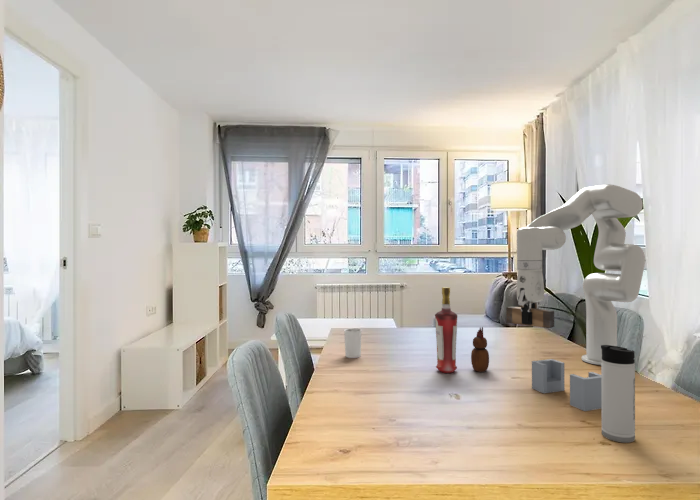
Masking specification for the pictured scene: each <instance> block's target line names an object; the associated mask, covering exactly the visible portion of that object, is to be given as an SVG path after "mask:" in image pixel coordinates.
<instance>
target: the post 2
mask: <svg viewBox="0 0 700 500" xmlns="http://www.w3.org/2000/svg"><path fill="white" fill-rule="evenodd" d="M587 375H588V376H587V377H582V376H580V375H577V374H574V373H573V374H572V373H571V374H570V373H569V406H572V407H574V408H576V409H578V410H581V411H584V412H587V411H596V410H602V384H601V374H600V373H597V372H594V371H588V374H587Z"/></svg>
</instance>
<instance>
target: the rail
mask: <svg viewBox="0 0 700 500" xmlns="http://www.w3.org/2000/svg"><path fill="white" fill-rule="evenodd" d="M531 312H532V325H528V326H532V327H538V328H545V329H551V328H555V310H552V309H551V310H550V309H543V308H541V309H540V308H539V309H533V308H531ZM505 313H506V315H505V316H506V318H505V319H506V323H507V324H515V325H522V326H527V325H526V324H522V312H521V307H520V306H507V307H506V312H505Z"/></svg>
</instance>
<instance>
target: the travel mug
mask: <svg viewBox="0 0 700 500" xmlns="http://www.w3.org/2000/svg"><path fill="white" fill-rule="evenodd" d="M601 349H602V359H601V361H602V363H601V365H600V366H601V367H600V368H601V371H600V372H601V374H600V375H601V384H602V409H601V435H602V436H603V437H604V438H606V439H607V440H610V441H613V442H617V443H622V444H626V443H627V444H628V443H632V442H635V440H636V366H635V365H636V361H635V353H636V352H635V350H630V349H628V348H627V347H626V348H625V347H623V346H618V345H617V346H611V345H601Z"/></svg>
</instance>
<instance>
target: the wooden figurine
mask: <svg viewBox="0 0 700 500" xmlns="http://www.w3.org/2000/svg"><path fill="white" fill-rule="evenodd" d="M483 327H484V326H482V327H481V326H480V327H479V329H478V331H476V336H474V337H473V338H472V346H473V348H472V349H471V352H470V359H471V362H470V363H471V366H472V369H473V370H474V371H475V372H478V373H479V372H480V373H483V372H486V371H488V369H489V365H490V354H489V351H488V349H487V346H488V341H487V338H486V337H484V328H483Z"/></svg>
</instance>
